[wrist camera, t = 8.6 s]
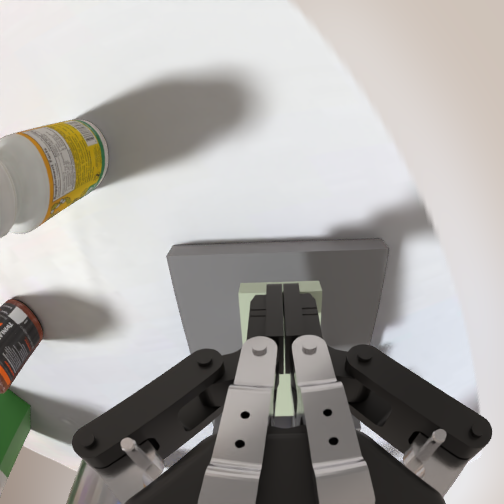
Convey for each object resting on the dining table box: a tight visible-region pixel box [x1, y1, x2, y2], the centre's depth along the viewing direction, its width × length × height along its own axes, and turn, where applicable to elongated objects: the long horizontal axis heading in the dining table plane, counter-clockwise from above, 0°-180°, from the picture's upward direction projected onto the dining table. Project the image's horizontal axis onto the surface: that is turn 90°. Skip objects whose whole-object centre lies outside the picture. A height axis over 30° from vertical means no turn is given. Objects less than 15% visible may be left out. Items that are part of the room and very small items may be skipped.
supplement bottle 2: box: [0, 119, 108, 238], centre depth 13 cm, size 5×5×10 cm
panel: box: [166, 239, 389, 434], centre depth 22 cm, size 24×14×6 cm, turn 4°
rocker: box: [238, 281, 322, 416], centre depth 16 cm, size 9×4×1 cm, turn 4°
